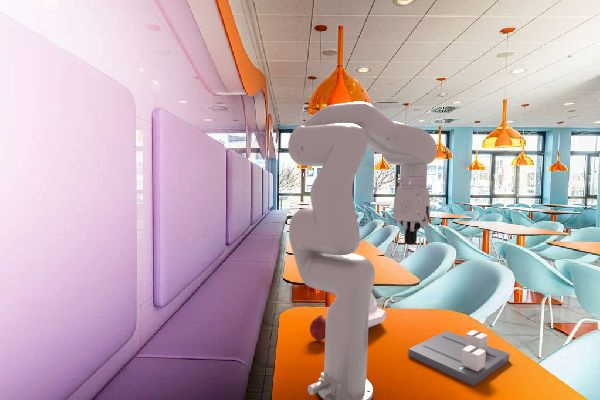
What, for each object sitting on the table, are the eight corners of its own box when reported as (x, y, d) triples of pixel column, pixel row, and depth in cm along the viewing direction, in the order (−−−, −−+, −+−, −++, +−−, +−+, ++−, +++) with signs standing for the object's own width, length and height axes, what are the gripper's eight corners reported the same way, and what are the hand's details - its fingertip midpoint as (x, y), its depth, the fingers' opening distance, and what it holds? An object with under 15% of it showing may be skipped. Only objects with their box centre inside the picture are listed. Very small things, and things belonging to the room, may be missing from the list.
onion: (327, 346, 104) (328, 319, 103) (308, 344, 105) (308, 317, 104) (330, 337, 109) (331, 312, 109) (311, 335, 111) (312, 310, 110)
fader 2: (477, 371, 88) (478, 355, 88) (461, 364, 91) (462, 348, 91) (484, 366, 90) (485, 350, 90) (469, 359, 94) (469, 344, 93)
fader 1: (479, 353, 97) (480, 338, 97) (465, 347, 100) (466, 333, 100) (486, 349, 100) (487, 334, 100) (472, 343, 103) (473, 329, 103)
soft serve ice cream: (336, 332, 117) (331, 287, 119) (364, 324, 127) (360, 283, 130) (367, 335, 108) (362, 287, 111) (395, 326, 118) (389, 282, 121)
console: (473, 386, 86) (474, 377, 86) (408, 355, 100) (408, 348, 100) (508, 360, 98) (509, 353, 98) (446, 336, 112) (446, 330, 112)
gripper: (384, 181, 111) (382, 241, 112) (428, 183, 99) (425, 249, 101) (399, 182, 116) (397, 238, 117) (443, 183, 104) (440, 246, 105)
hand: (410, 243), depth 109 cm, fingers closed
